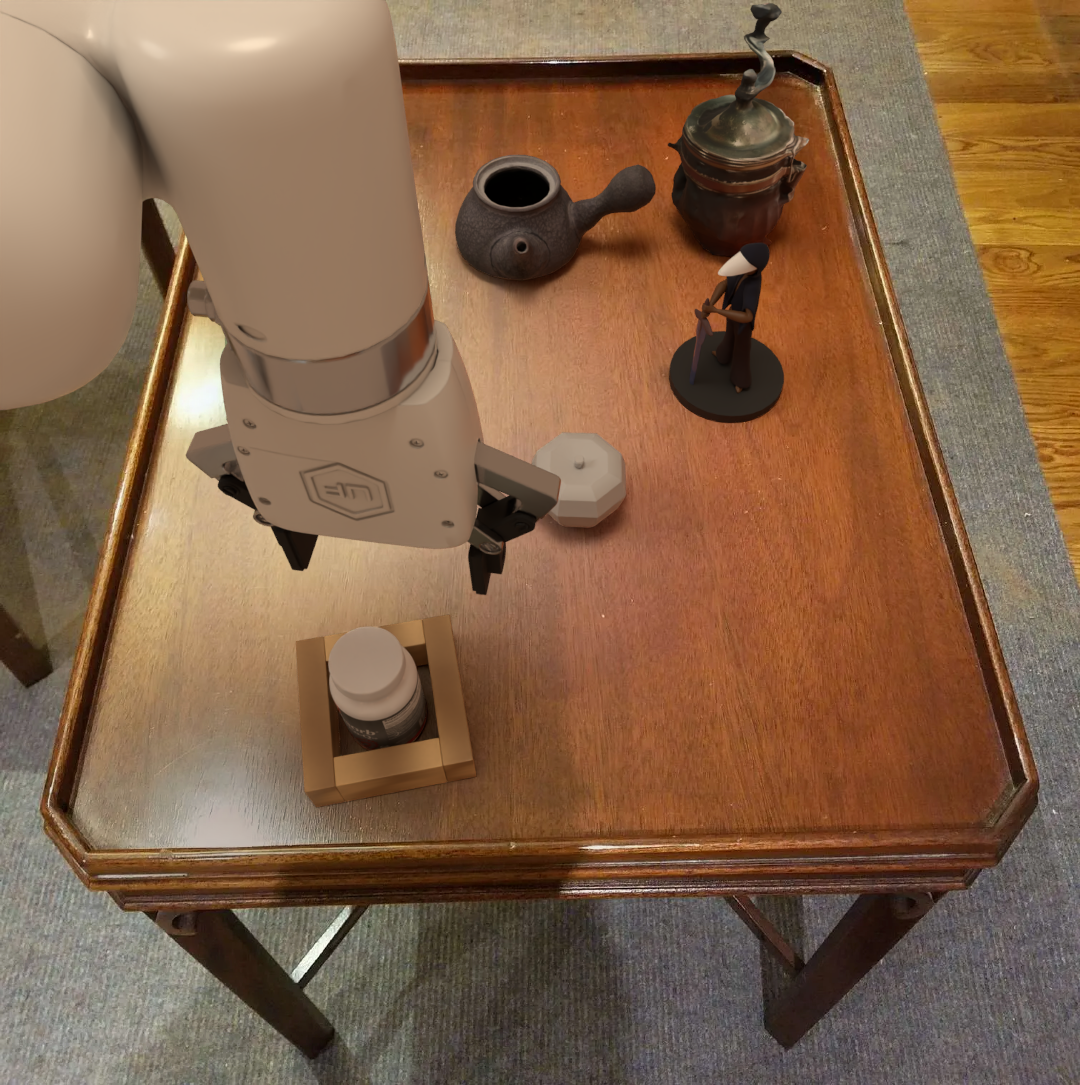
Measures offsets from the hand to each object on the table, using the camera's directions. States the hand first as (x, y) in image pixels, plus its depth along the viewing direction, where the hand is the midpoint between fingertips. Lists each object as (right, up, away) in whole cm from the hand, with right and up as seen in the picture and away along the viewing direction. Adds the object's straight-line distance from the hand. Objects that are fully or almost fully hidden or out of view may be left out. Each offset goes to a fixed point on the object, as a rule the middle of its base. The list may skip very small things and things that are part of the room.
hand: (395, 559), depth 49 cm
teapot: (+9, +29, +42) cm, 52 cm away
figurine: (+24, +15, +34) cm, 44 cm away
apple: (+11, +4, +26) cm, 29 cm away
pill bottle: (-3, -12, +17) cm, 21 cm away
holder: (-3, -12, +17) cm, 20 cm away
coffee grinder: (+26, +34, +45) cm, 62 cm away
